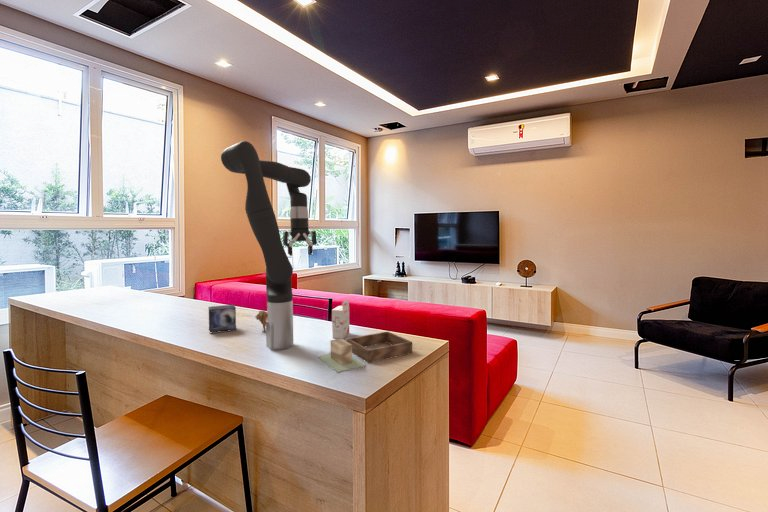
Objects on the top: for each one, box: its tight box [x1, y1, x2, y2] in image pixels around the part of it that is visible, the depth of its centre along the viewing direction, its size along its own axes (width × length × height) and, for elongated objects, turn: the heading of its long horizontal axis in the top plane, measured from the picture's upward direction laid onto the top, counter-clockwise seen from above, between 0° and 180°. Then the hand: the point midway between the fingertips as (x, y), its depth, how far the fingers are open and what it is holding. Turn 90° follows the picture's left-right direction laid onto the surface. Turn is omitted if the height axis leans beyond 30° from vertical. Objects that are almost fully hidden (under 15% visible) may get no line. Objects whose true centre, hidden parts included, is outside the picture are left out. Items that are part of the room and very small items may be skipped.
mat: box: [317, 353, 367, 373], centre depth 121 cm, size 10×16×1 cm, turn 32°
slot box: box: [345, 331, 413, 363], centre depth 131 cm, size 18×16×4 cm
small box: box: [208, 304, 237, 333], centre depth 159 cm, size 11×6×10 cm, turn 119°
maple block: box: [329, 338, 353, 365], centre depth 121 cm, size 4×8×6 cm, turn 32°
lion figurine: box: [254, 309, 267, 333], centre depth 155 cm, size 15×5×9 cm, turn 54°
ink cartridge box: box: [331, 299, 350, 340], centre depth 150 cm, size 9×5×15 cm, turn 168°
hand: (300, 255), depth 158 cm, fingers open, 8 cm apart
